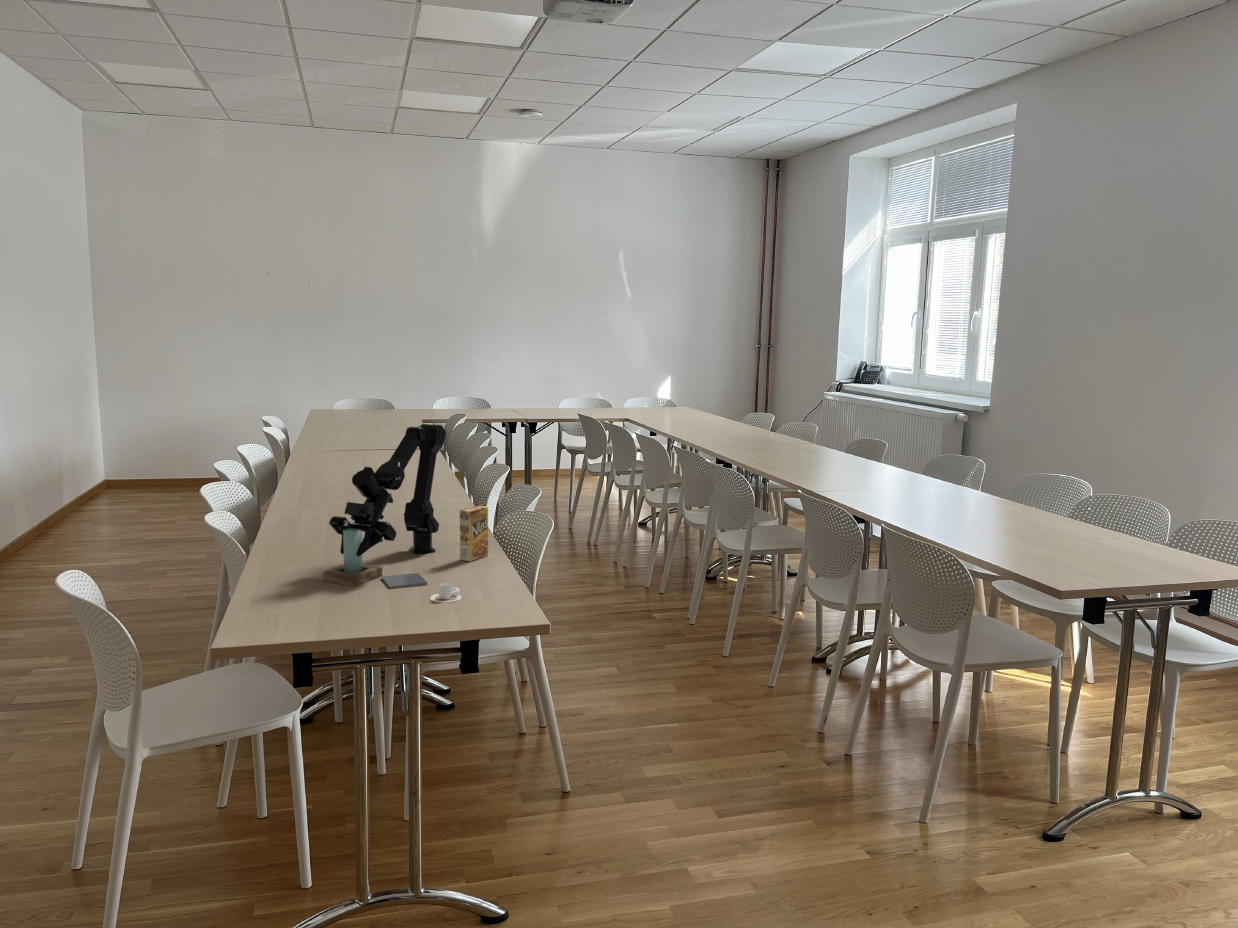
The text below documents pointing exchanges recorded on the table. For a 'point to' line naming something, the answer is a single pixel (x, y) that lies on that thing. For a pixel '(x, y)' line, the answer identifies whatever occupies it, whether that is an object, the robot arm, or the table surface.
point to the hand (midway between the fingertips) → (349, 554)
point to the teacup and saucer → (446, 593)
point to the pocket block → (352, 575)
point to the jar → (352, 550)
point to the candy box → (473, 533)
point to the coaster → (404, 580)
